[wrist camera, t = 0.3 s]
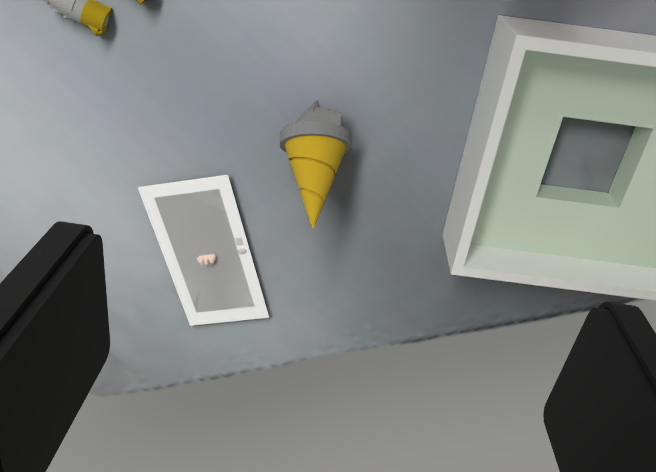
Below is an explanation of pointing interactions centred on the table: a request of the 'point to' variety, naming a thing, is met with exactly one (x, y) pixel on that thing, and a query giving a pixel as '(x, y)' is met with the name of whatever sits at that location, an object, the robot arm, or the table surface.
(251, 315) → the white grey flat rectangle
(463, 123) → the table surface
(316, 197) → the yellow tapered spiral part
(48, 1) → the extension cord
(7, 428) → the robot arm
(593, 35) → the holed box
